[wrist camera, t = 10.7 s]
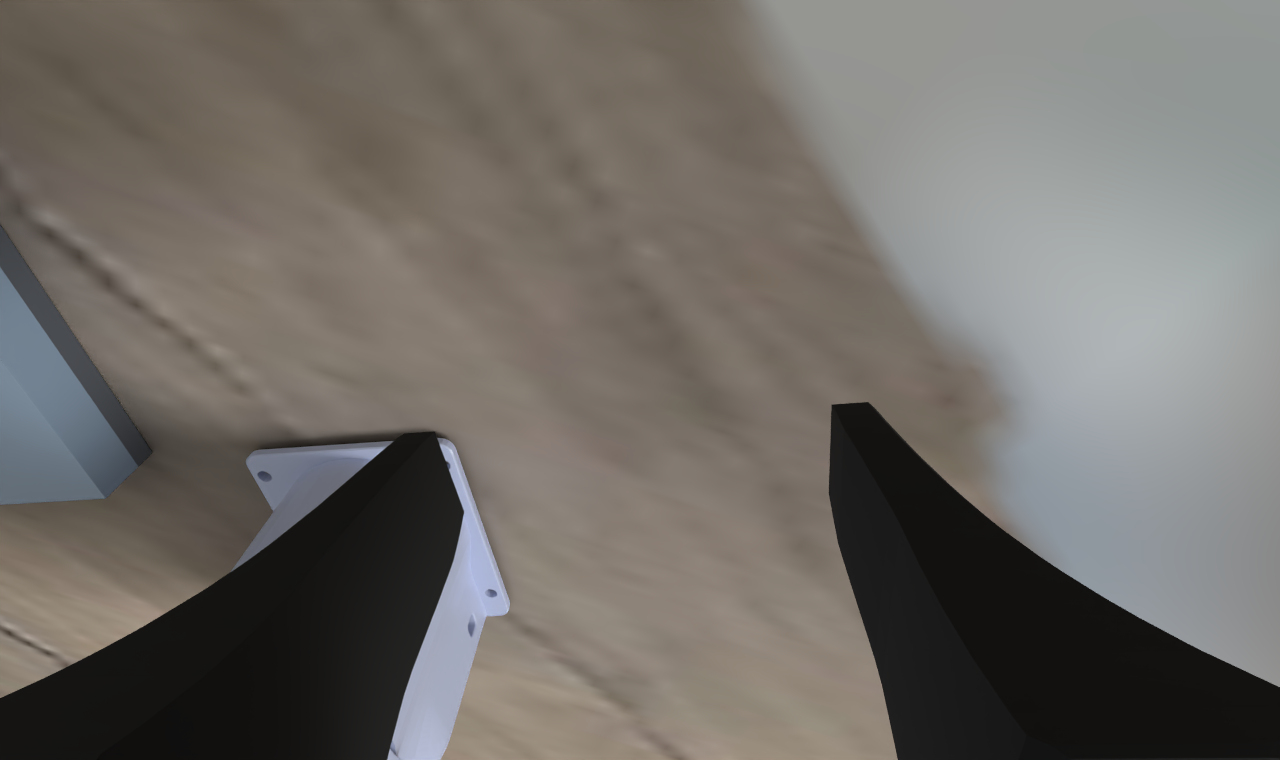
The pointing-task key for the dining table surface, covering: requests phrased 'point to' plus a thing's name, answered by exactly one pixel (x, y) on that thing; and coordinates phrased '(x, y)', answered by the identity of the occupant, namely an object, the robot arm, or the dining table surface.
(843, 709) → the dining table surface
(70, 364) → the pale blue socket slab
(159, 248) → the dining table surface
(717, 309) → the dining table surface
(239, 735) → the robot arm
